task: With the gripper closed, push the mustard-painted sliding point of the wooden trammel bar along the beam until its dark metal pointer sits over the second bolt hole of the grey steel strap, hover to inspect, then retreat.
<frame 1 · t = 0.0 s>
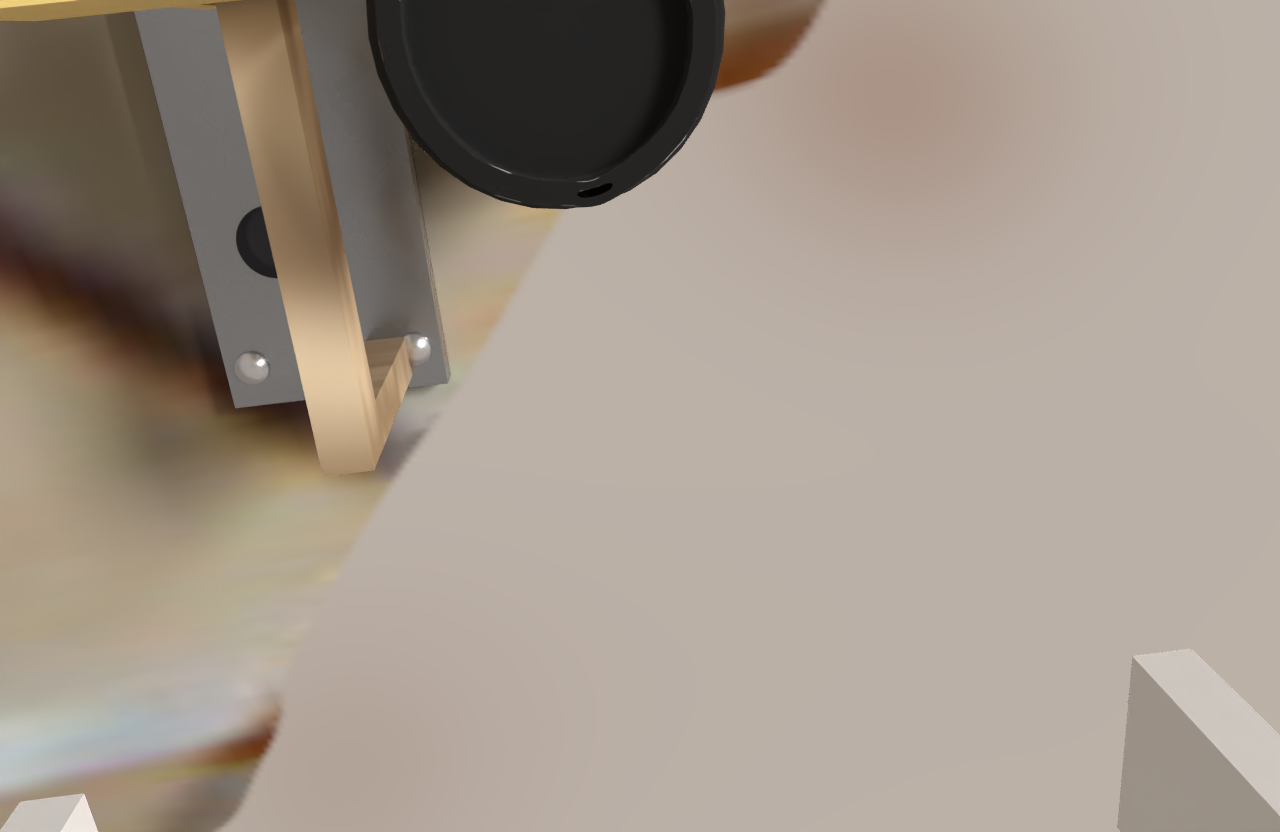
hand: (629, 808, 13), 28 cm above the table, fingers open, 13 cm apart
coffee cup: (549, 25, 36), on the table
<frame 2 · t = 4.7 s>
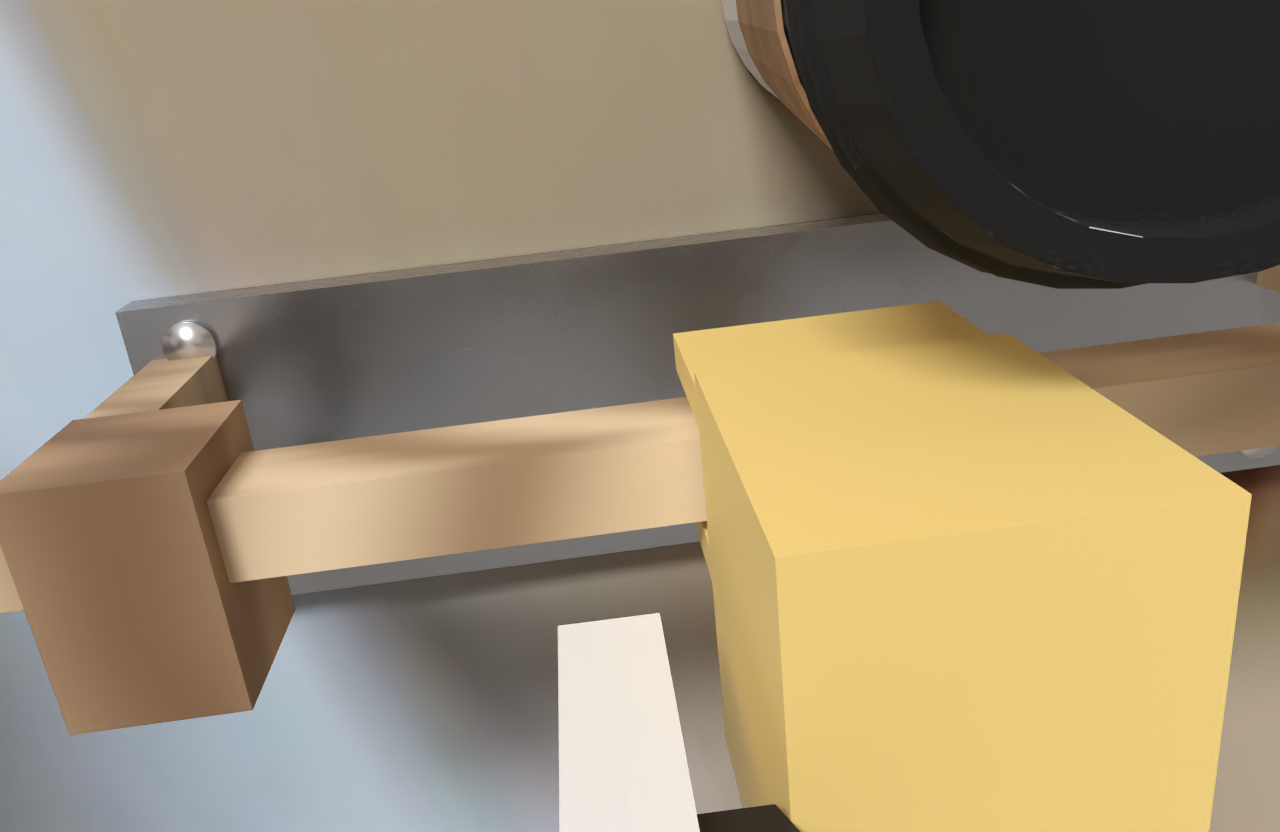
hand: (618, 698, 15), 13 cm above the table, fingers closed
slider head: (835, 512, 19), point 9 cm above the table, slide at 6.9 cm, touching gripper
hole plate: (750, 380, 27), on the table
trammel bar: (746, 307, 26), resting on hole plate
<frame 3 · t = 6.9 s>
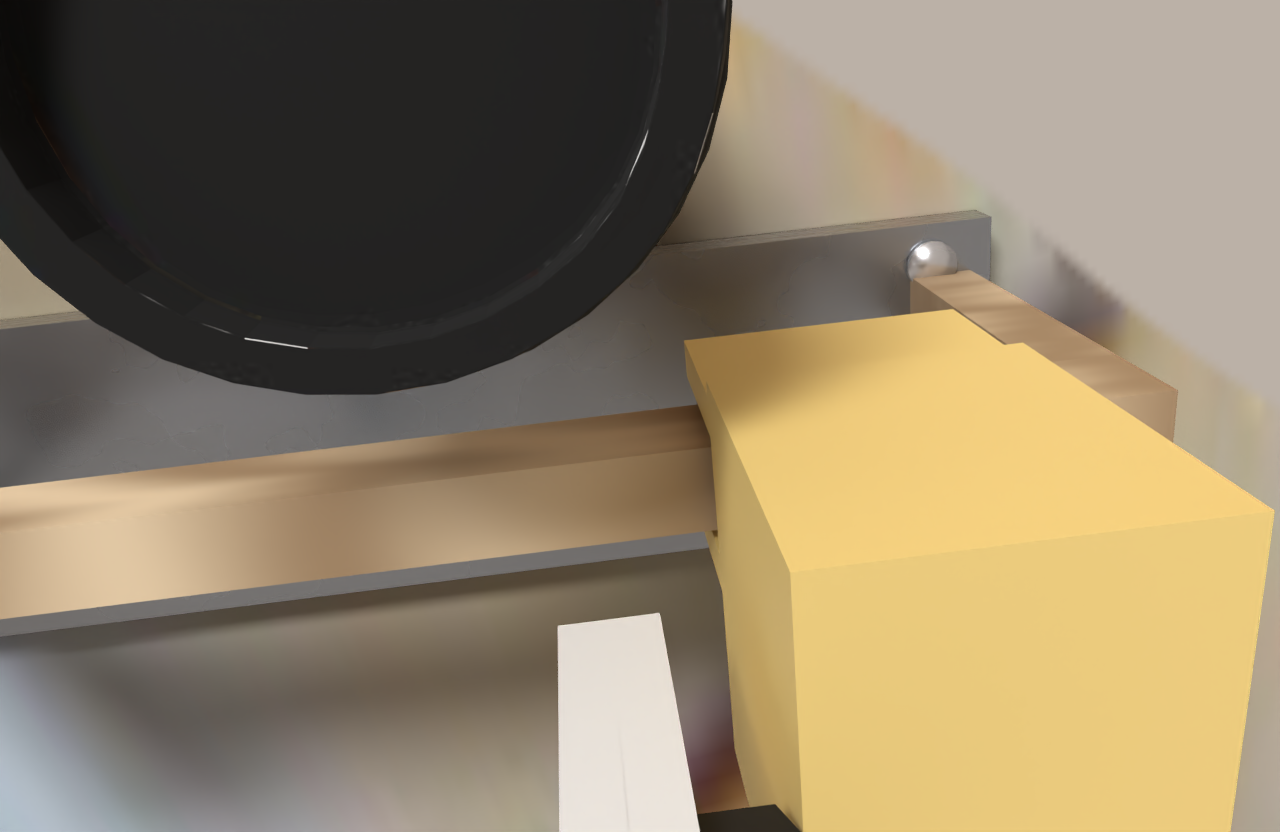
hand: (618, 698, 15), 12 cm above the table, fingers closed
slider head: (846, 522, 19), point 9 cm above the table, slide at 16.2 cm, touching gripper
coffee cup: (454, 29, 24), on the table
hole plate: (404, 429, 27), on the table
trammel bar: (389, 355, 26), resting on hole plate
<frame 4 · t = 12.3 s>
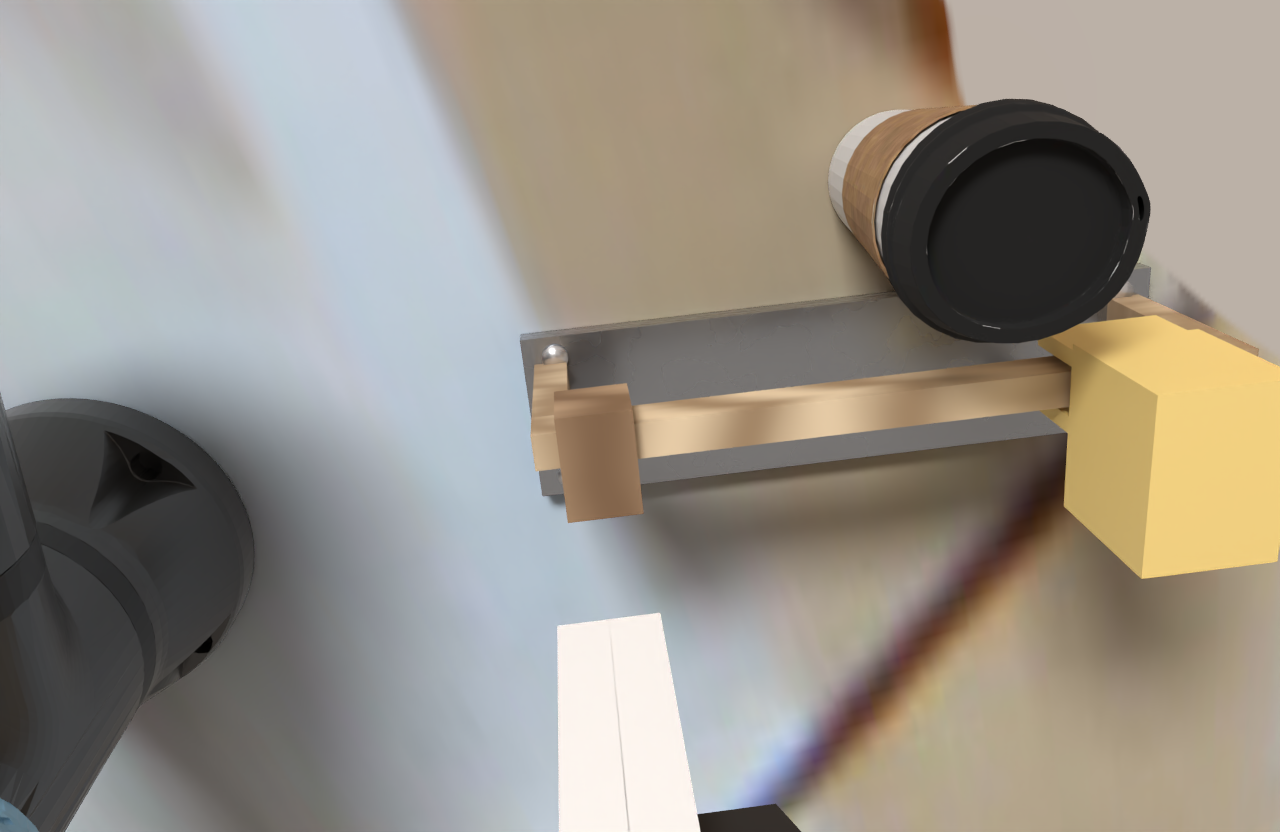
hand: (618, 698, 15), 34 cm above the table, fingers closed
slider head: (1111, 408, 43), point 9 cm above the table, slide at 16.2 cm
coffee cup: (889, 175, 48), on the table
hole plate: (836, 377, 51), on the table
trammel bar: (835, 338, 50), resting on hole plate
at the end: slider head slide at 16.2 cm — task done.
